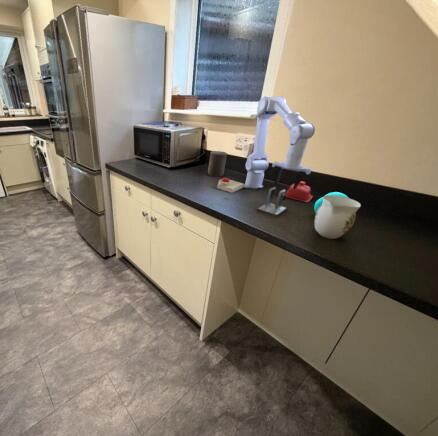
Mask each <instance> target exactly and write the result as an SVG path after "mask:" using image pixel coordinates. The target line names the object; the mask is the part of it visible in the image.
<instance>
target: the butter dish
mask: <svg viewBox="0 0 438 436" xmlns="http://www.w3.org/2000/svg"><path fill="white" fill-rule="evenodd" d="M294 184H295V183H292V184H291V185H290V186H289V188H288V190H286V192H285V195H286V198H287V199H288V198H289V199H293V200H296V201H300V202H304V203H309V202H310V201H311V200H312V199H313V198H314V197H313V195H312V194H311V191H312V190H311V189H312V188H311V186H308V185H306V181H303V180H301V181H300V183H299V184H298V186H297V188H296V189H293V187H294Z"/></svg>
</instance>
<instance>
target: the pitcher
mask: <svg viewBox="0 0 438 436" xmlns="http://www.w3.org/2000/svg"><path fill="white" fill-rule="evenodd" d="M322 197H323V203H322V205H321V206H320V207H319V208H318V210H317V212H316V213H315V215H314V221H313V223H314V229H315V231H316V232H317V233H318V235H319V236H321V237H324V238H326V239H331V240H332V239H333V240H335V239H338V238H341V237H342V236H344V235H345V234H346V233H347V232H349V231H350V230H351V229H352V227H353V225H354V224H355V221H356V216H357V211H358V210H359V209H360V208H361V206H362V205H361V203H360V202H358V201H357V200H355V199H353V198H349V197H348V198H346V197H341V196H334V195H328V196H325V195H324V196H322Z"/></svg>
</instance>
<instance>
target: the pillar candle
mask: <svg viewBox="0 0 438 436" xmlns="http://www.w3.org/2000/svg"><path fill="white" fill-rule="evenodd" d="M209 154H210V155H209V162H208V169H207V175H208V176H209V177H214V178H215V177H216V178H220V177H223V176H224V175H225V168H226V162H227V156H228V152H226V151H222V150H221V151H220V150H213V151H211V152H210V153H209Z"/></svg>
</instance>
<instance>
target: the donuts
mask: <svg viewBox="0 0 438 436" xmlns="http://www.w3.org/2000/svg"><path fill="white" fill-rule="evenodd" d="M328 195H334V196H341V197H346V198H349V196H347V195H346V194H345V193H342V192H338V191H333V192H328V193H327V194H325V195H324V196H328ZM324 196H321V197H320V198H319V199H316V201H315V203H314V206H313V211H314V214H316V212H317V210H318V208H319V207H320V206H321V205H322V203H323V197H324Z"/></svg>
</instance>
